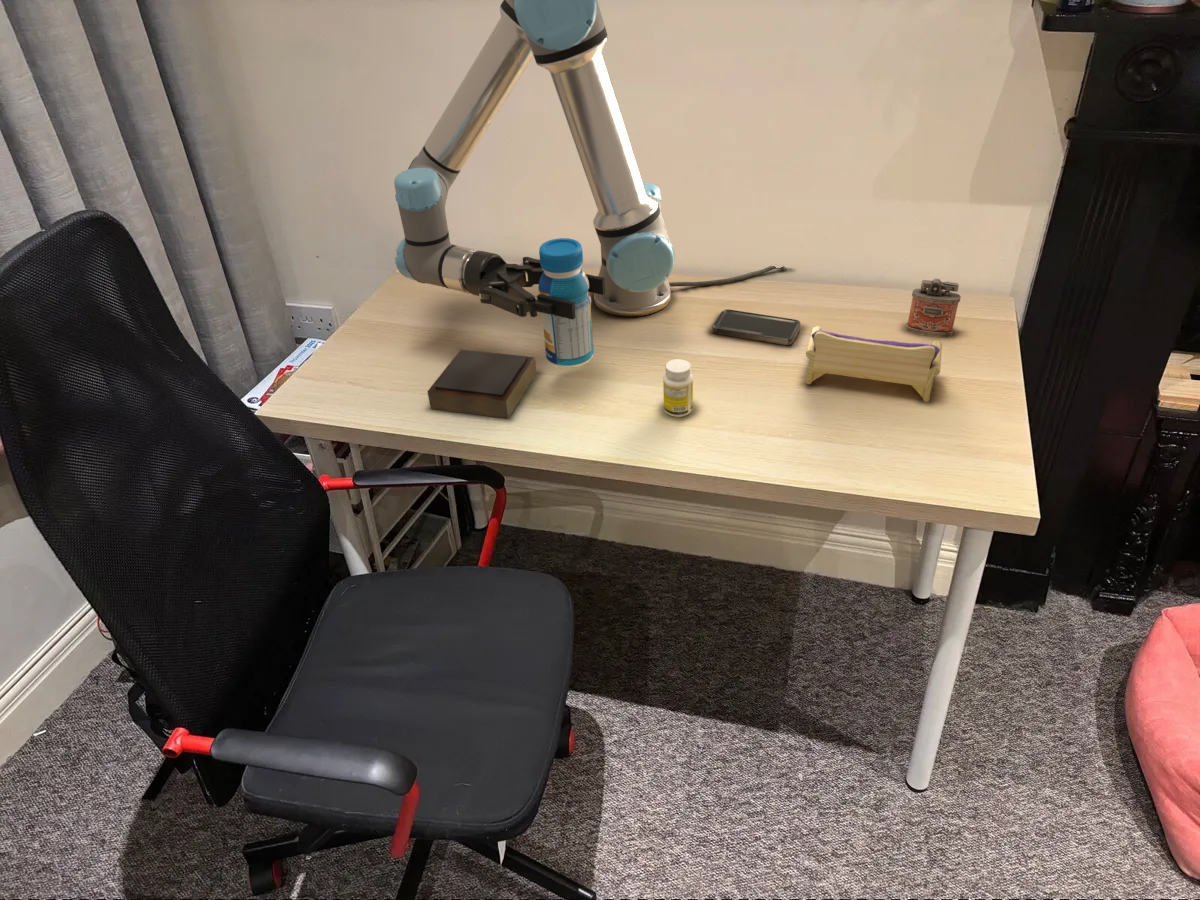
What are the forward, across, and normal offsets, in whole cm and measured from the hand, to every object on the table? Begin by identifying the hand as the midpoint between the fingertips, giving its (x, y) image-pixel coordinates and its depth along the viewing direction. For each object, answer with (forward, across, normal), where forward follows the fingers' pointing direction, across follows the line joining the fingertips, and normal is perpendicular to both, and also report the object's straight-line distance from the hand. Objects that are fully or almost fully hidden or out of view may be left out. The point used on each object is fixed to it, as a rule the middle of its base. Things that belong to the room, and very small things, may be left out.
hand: (589, 298), depth 136 cm
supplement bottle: (+15, -1, -18) cm, 23 cm away
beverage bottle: (-5, 0, -12) cm, 13 cm away
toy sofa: (+40, -23, -18) cm, 49 cm away
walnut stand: (-17, +9, -17) cm, 26 cm away
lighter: (+45, -44, -18) cm, 65 cm away
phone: (+16, -31, -18) cm, 39 cm away
